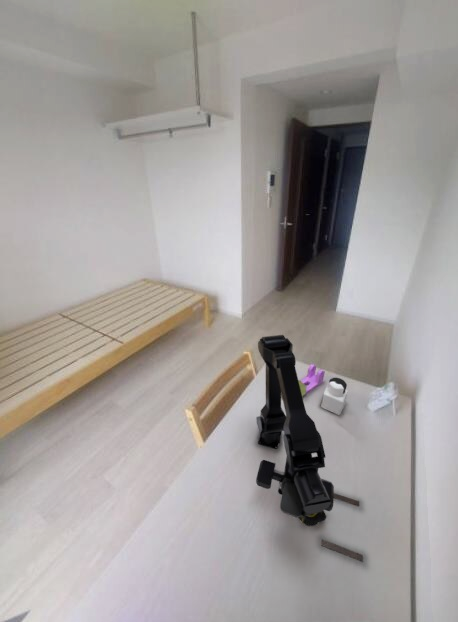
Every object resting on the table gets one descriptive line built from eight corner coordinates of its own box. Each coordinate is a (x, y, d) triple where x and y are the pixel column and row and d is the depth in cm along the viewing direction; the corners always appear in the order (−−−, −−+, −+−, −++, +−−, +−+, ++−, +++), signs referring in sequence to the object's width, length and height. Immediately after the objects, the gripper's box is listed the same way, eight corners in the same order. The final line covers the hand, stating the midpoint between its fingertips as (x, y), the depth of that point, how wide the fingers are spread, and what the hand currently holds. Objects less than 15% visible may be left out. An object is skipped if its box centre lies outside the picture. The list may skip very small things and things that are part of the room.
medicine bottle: (326, 395, 108) (331, 372, 102) (344, 403, 104) (351, 380, 98) (320, 407, 103) (325, 383, 97) (339, 416, 99) (345, 391, 93)
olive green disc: (310, 389, 110) (311, 386, 110) (297, 406, 103) (297, 402, 102) (286, 377, 117) (287, 374, 116) (272, 392, 110) (272, 388, 109)
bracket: (311, 375, 118) (313, 362, 115) (322, 382, 115) (325, 369, 111) (292, 388, 111) (294, 375, 108) (303, 396, 108) (305, 383, 104)
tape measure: (326, 522, 69) (328, 515, 68) (302, 532, 68) (304, 525, 66) (311, 495, 75) (313, 488, 73) (289, 504, 73) (290, 496, 72)
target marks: (321, 545, 65) (321, 545, 65) (323, 490, 76) (323, 489, 76) (362, 561, 63) (363, 561, 62) (358, 502, 74) (359, 501, 73)
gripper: (251, 485, 61) (249, 520, 69) (338, 517, 56) (325, 551, 63) (262, 443, 71) (260, 478, 78) (338, 467, 65) (327, 502, 72)
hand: (290, 501), depth 73 cm, fingers closed
